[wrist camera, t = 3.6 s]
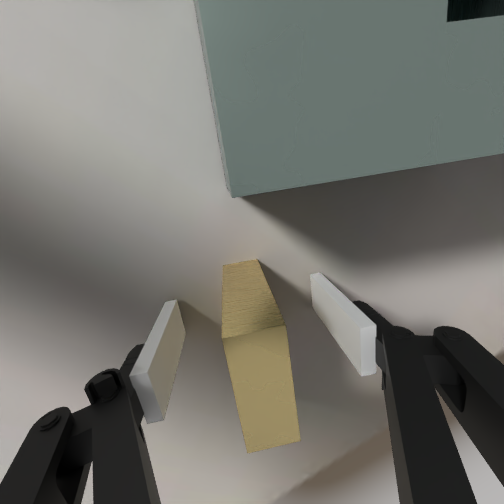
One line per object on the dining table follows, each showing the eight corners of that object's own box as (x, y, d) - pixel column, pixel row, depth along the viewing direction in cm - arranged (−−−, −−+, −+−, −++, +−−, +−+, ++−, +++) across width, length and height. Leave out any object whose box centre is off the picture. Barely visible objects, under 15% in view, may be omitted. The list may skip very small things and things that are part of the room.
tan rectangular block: (237, 338, 18) (247, 453, 10) (222, 265, 16) (221, 338, 9) (268, 332, 18) (300, 441, 11) (257, 259, 16) (286, 325, 9)
